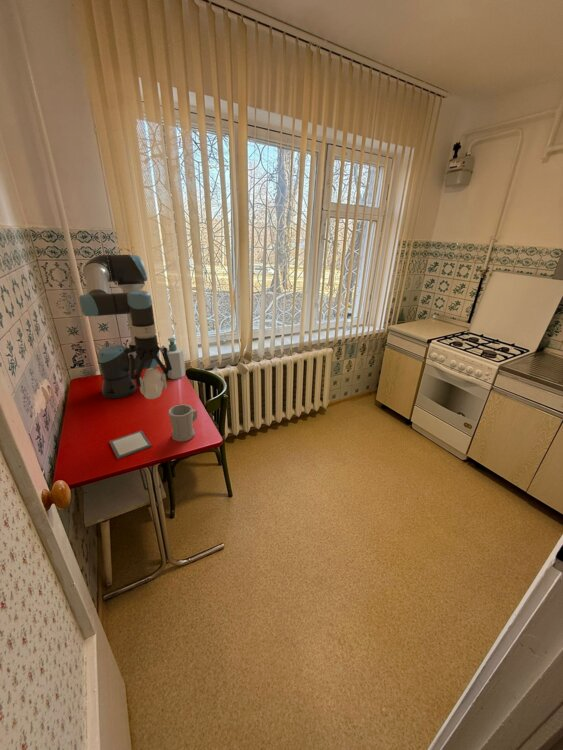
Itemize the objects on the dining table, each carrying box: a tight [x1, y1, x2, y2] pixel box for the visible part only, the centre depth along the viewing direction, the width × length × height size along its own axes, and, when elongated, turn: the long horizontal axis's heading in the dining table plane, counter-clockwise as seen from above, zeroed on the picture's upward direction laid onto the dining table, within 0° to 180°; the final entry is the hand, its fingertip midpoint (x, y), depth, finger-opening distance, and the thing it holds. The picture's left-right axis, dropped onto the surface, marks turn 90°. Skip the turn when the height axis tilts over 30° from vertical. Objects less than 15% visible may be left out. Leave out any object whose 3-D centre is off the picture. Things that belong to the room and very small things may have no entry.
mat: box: [108, 430, 153, 460], centre depth 115 cm, size 12×12×1 cm
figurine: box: [142, 367, 164, 400], centre depth 118 cm, size 7×8×12 cm
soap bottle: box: [163, 337, 186, 380], centre depth 167 cm, size 10×9×22 cm
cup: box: [168, 403, 198, 442], centre depth 120 cm, size 10×9×12 cm
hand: (154, 390), depth 119 cm, fingers closed on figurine, 8 cm apart
